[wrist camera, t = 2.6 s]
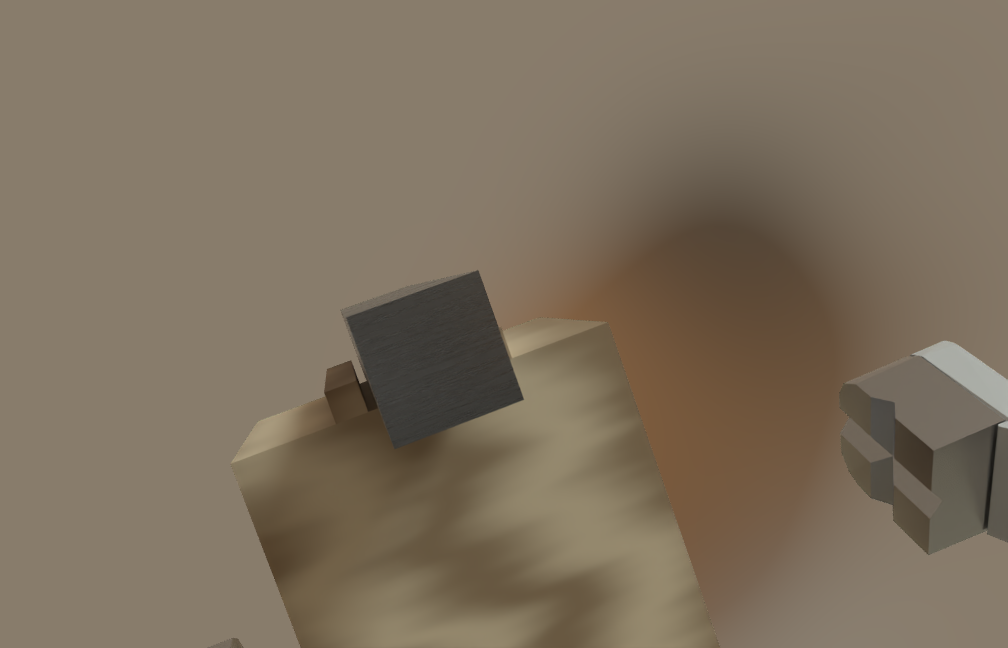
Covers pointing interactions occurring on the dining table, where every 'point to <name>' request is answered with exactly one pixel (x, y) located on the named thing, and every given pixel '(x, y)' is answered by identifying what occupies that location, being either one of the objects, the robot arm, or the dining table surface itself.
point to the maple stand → (478, 514)
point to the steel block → (432, 356)
